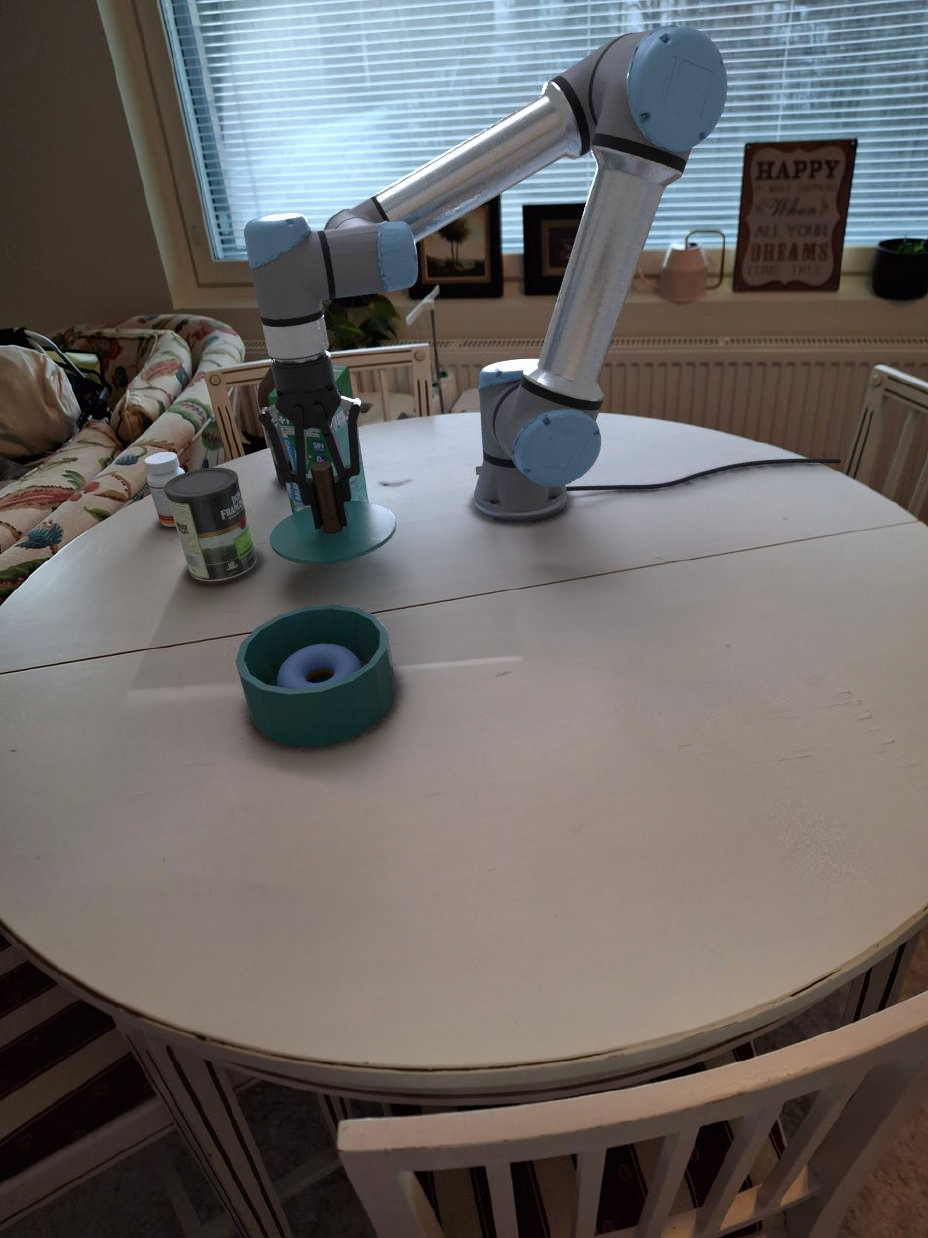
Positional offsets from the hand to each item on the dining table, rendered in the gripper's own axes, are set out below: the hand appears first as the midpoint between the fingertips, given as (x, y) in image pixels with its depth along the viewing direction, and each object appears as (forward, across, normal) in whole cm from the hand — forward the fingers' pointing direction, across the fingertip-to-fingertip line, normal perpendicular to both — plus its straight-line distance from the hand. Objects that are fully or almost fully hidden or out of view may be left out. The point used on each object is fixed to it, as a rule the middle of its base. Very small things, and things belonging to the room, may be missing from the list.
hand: (332, 522), depth 113 cm
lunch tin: (+9, 0, +28) cm, 29 cm away
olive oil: (+9, +9, -37) cm, 39 cm away
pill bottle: (+9, +29, -24) cm, 39 cm away
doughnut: (+8, 0, +28) cm, 29 cm away
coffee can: (+9, +18, -6) cm, 21 cm away
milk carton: (+9, +2, -17) cm, 19 cm away
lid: (+1, 0, 0) cm, 1 cm away
